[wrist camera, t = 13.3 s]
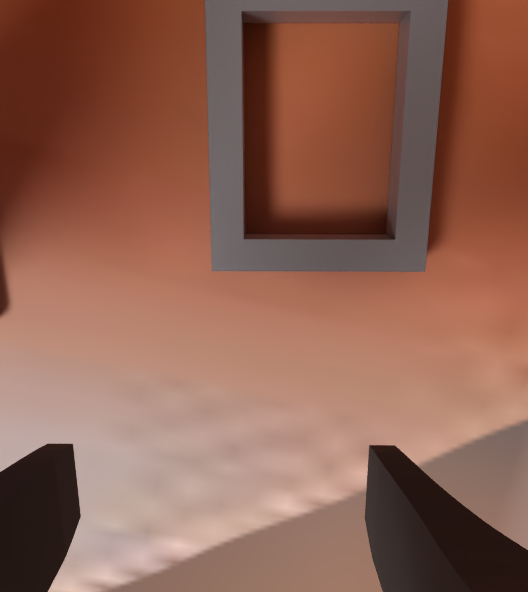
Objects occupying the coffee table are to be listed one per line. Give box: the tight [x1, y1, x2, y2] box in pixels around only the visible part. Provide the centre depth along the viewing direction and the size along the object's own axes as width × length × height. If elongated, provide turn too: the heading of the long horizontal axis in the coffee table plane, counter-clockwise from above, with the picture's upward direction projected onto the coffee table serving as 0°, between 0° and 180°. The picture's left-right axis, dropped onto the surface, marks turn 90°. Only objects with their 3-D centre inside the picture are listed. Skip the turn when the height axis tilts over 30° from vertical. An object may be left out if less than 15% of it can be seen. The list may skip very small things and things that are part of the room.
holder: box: [205, 0, 448, 272], centre depth 18 cm, size 8×10×2 cm
